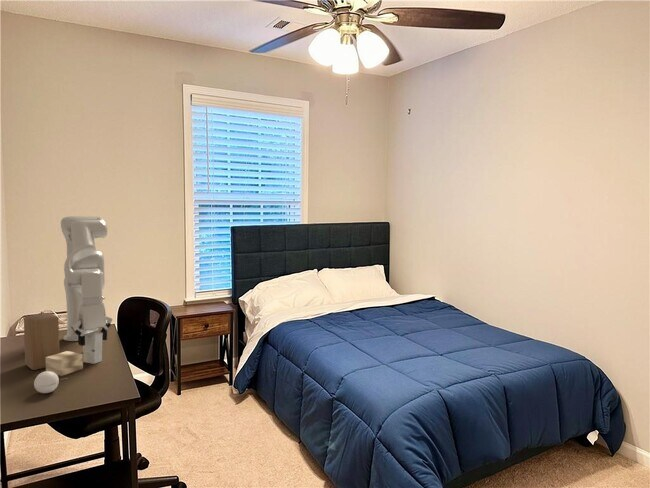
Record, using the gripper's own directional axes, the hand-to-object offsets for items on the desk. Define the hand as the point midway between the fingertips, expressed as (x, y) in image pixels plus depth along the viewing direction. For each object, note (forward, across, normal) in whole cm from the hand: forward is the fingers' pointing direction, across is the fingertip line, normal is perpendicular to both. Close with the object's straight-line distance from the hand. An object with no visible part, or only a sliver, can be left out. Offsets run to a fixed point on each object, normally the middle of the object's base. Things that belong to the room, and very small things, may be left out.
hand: (93, 342), depth 188 cm
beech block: (+9, +12, -1) cm, 15 cm away
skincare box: (+8, 0, -1) cm, 8 cm away
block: (+8, +13, -14) cm, 21 cm away
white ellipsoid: (+9, +27, +16) cm, 33 cm away
